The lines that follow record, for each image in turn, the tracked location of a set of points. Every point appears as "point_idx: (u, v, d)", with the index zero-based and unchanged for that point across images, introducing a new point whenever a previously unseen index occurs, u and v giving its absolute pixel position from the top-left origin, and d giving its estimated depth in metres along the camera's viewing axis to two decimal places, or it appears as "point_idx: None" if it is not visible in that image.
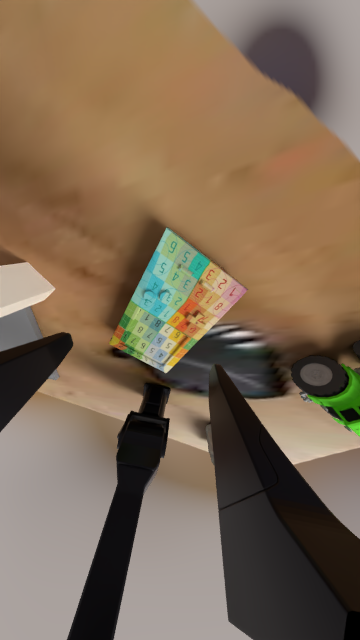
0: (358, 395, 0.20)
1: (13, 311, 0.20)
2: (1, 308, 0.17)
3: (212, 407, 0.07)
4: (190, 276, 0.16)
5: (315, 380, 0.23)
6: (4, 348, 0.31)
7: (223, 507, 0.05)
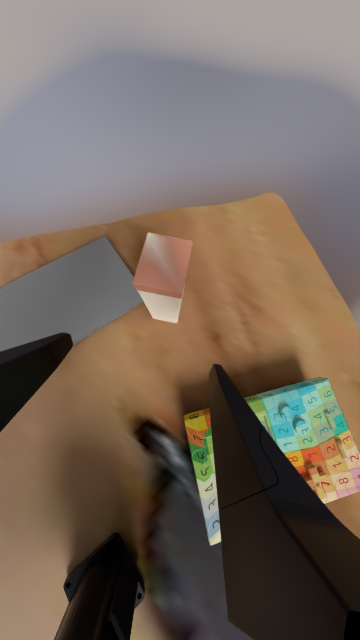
0: None
1: (152, 310, 0.18)
2: (176, 308, 0.15)
3: (212, 407, 0.07)
4: (333, 427, 0.17)
5: None
6: (27, 302, 0.21)
7: (223, 506, 0.05)
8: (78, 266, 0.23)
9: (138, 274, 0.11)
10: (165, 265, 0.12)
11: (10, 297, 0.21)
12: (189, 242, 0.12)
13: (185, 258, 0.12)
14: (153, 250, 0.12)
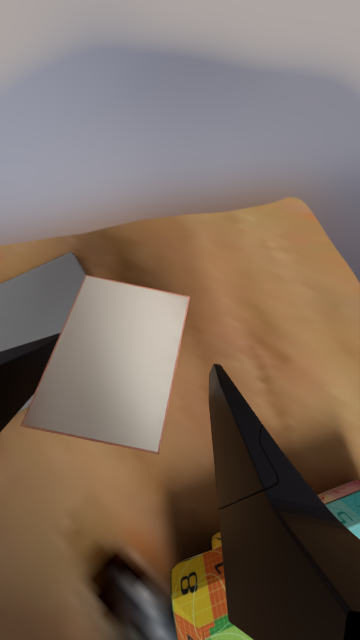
0: None
1: None
2: None
3: (212, 407, 0.07)
4: None
5: None
6: None
7: (223, 506, 0.05)
8: (27, 295, 0.16)
9: (42, 395, 0.04)
10: (119, 364, 0.05)
11: None
12: (181, 299, 0.05)
13: (170, 343, 0.05)
14: (94, 321, 0.05)
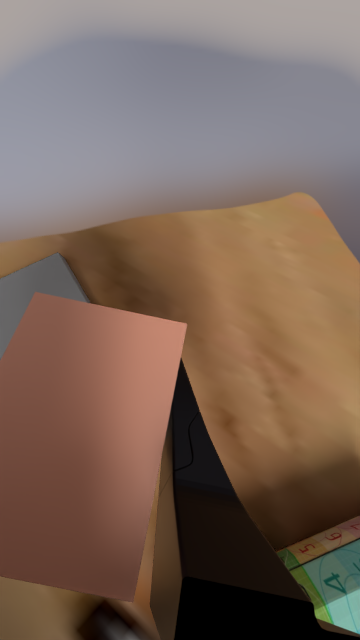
0: None
1: None
2: None
3: None
4: None
5: None
6: None
7: (160, 494, 0.05)
8: (8, 301, 0.14)
9: None
10: (75, 437, 0.03)
11: None
12: (174, 328, 0.04)
13: (157, 398, 0.03)
14: (41, 364, 0.03)
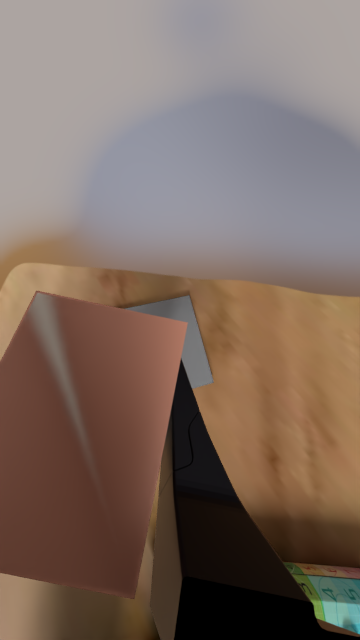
0: None
1: None
2: None
3: None
4: None
5: None
6: None
7: (160, 494, 0.05)
8: None
9: None
10: (76, 435, 0.03)
11: None
12: (175, 327, 0.04)
13: (158, 397, 0.03)
14: (43, 362, 0.03)
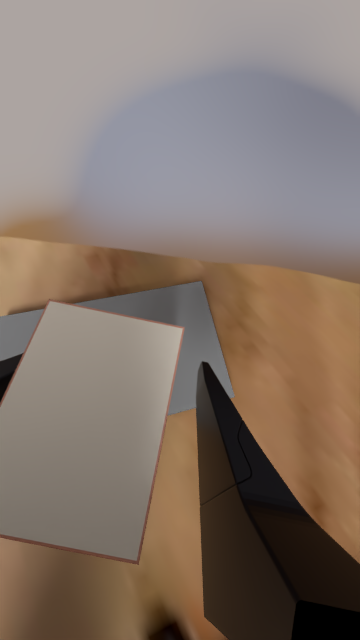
0: None
1: None
2: None
3: (198, 404, 0.07)
4: None
5: None
6: None
7: (204, 503, 0.05)
8: (155, 312, 0.17)
9: None
10: (87, 426, 0.03)
11: None
12: (173, 332, 0.04)
13: (158, 394, 0.04)
14: (57, 364, 0.04)
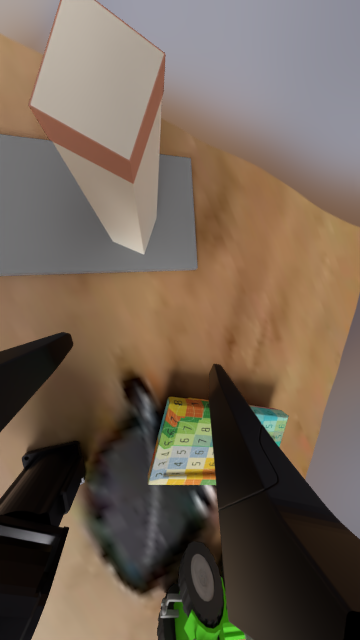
0: (217, 637, 0.20)
1: (103, 218, 0.12)
2: (134, 217, 0.11)
3: (212, 407, 0.07)
4: None
5: (201, 587, 0.21)
6: (61, 186, 0.16)
7: (223, 507, 0.05)
8: None
9: (42, 87, 0.06)
10: (102, 89, 0.06)
11: (40, 164, 0.15)
12: (157, 53, 0.06)
13: (144, 89, 0.06)
14: (79, 38, 0.06)
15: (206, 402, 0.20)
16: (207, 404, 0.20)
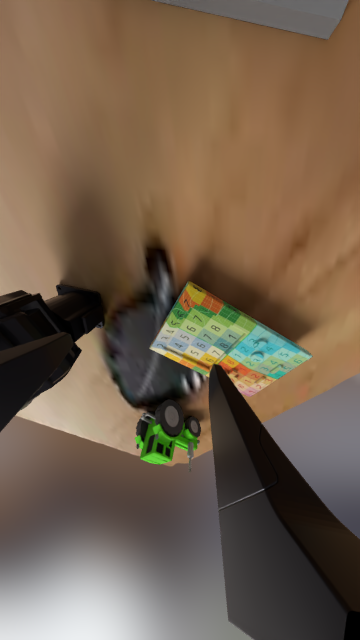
0: (170, 441, 0.30)
1: None
2: None
3: (212, 407, 0.07)
4: (272, 372, 0.20)
5: (169, 419, 0.30)
6: None
7: (223, 507, 0.05)
8: None
9: None
10: None
11: None
12: None
13: None
14: None
15: (227, 304, 0.17)
16: (228, 305, 0.17)
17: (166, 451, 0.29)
